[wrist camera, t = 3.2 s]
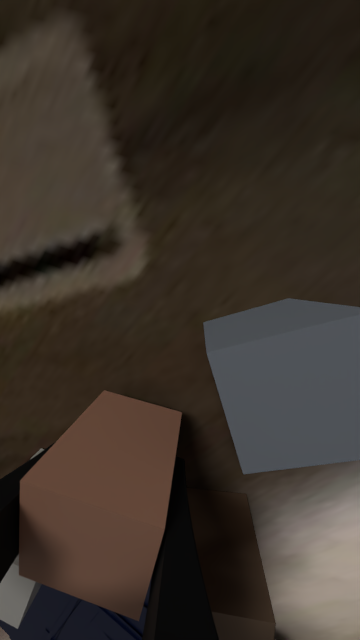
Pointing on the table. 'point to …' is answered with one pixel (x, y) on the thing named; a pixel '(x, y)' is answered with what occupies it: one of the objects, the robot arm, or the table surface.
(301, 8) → the table surface
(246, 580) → the walnut cube
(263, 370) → the slate cube
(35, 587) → the offwhite cube
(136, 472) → the terracotta cube
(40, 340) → the table surface
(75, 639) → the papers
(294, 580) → the table surface
